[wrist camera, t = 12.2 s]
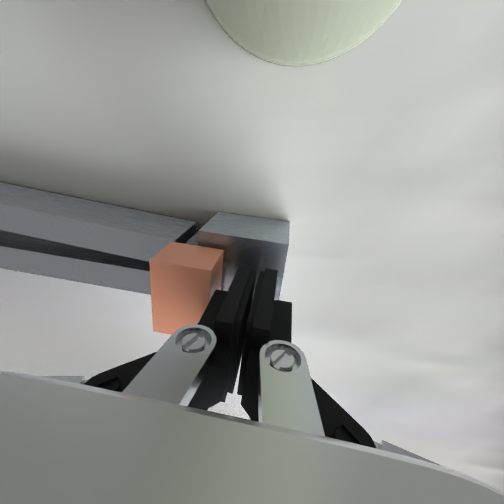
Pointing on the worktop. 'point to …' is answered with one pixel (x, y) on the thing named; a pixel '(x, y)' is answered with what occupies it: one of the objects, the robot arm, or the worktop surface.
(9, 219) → the bar
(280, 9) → the can
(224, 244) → the tongs fixed
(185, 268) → the tab
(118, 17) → the worktop surface
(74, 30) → the worktop surface
